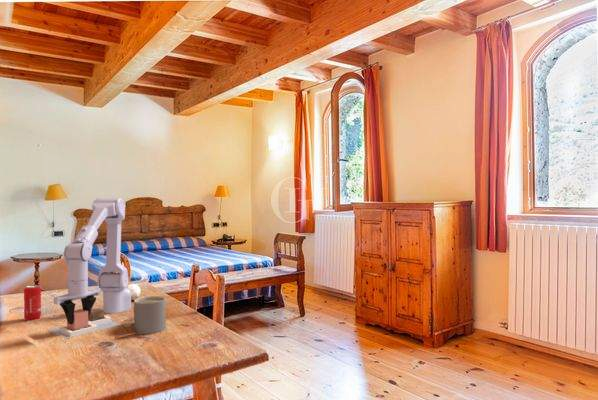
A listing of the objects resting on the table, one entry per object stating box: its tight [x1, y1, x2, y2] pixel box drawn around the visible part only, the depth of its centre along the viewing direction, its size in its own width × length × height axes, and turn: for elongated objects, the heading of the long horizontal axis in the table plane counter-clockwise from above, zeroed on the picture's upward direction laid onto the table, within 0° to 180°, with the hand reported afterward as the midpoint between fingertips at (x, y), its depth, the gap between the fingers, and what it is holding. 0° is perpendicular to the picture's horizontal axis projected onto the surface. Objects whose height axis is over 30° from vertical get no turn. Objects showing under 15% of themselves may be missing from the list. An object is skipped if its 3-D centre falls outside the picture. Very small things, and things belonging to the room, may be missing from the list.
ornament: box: [126, 281, 142, 302], centre depth 179 cm, size 7×7×8 cm
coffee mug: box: [133, 295, 167, 335], centre depth 141 cm, size 13×10×10 cm
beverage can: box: [23, 284, 42, 322], centre depth 152 cm, size 5×5×12 cm
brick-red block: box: [66, 308, 88, 330], centre depth 136 cm, size 4×4×5 cm
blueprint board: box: [47, 314, 122, 339], centre depth 139 cm, size 18×14×2 cm
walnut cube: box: [89, 307, 105, 322], centre depth 145 cm, size 4×4×4 cm
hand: (78, 321), depth 136 cm, fingers closed on brick-red block, 4 cm apart
